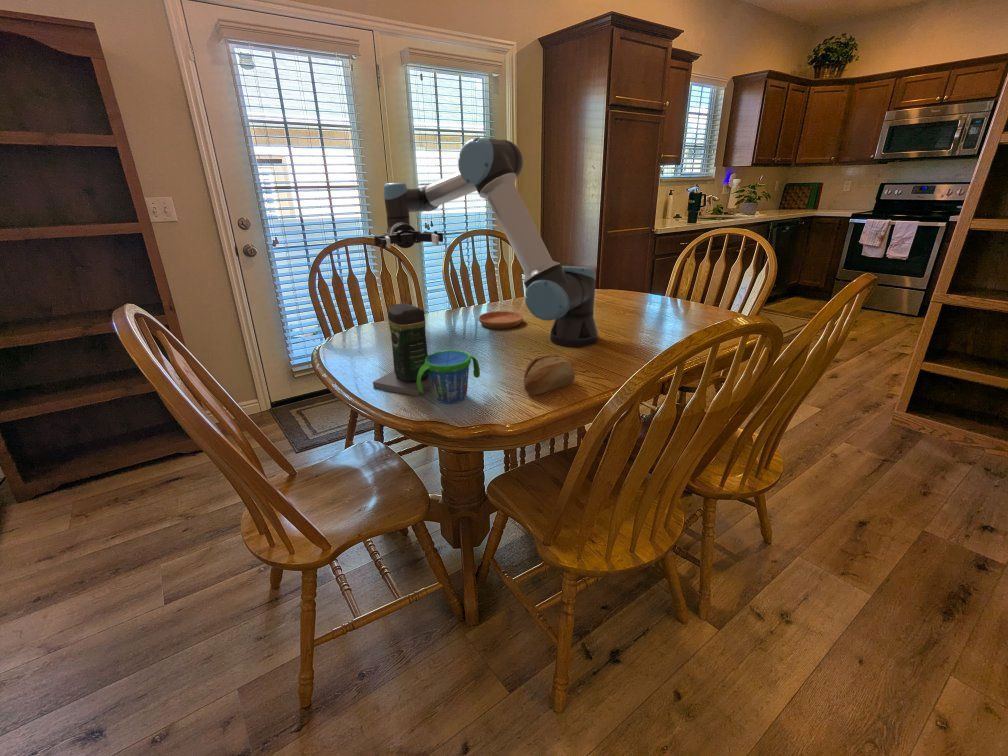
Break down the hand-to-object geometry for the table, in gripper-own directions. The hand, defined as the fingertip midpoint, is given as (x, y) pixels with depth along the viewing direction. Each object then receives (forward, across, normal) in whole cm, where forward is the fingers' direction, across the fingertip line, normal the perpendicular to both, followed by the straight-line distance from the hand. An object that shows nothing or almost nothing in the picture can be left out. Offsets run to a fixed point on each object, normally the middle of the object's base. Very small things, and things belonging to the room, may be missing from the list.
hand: (413, 241), depth 132 cm
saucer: (-18, -31, -32) cm, 48 cm away
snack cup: (+38, 0, -32) cm, 50 cm away
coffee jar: (+25, +7, -31) cm, 40 cm away
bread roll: (+42, -24, -32) cm, 58 cm away
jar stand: (+25, +7, -32) cm, 41 cm away
